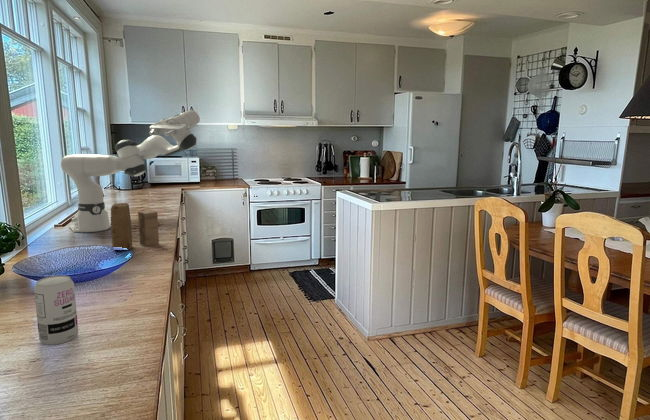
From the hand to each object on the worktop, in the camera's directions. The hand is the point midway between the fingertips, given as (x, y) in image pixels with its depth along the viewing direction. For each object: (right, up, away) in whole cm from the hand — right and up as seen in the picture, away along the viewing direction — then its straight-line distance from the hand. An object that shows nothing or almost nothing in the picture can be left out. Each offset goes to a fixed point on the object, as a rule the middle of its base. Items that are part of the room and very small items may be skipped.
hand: (158, 134), depth 207 cm
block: (-7, -54, -22) cm, 59 cm away
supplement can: (+16, -69, -103) cm, 125 cm away
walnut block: (+1, -53, -13) cm, 54 cm away
